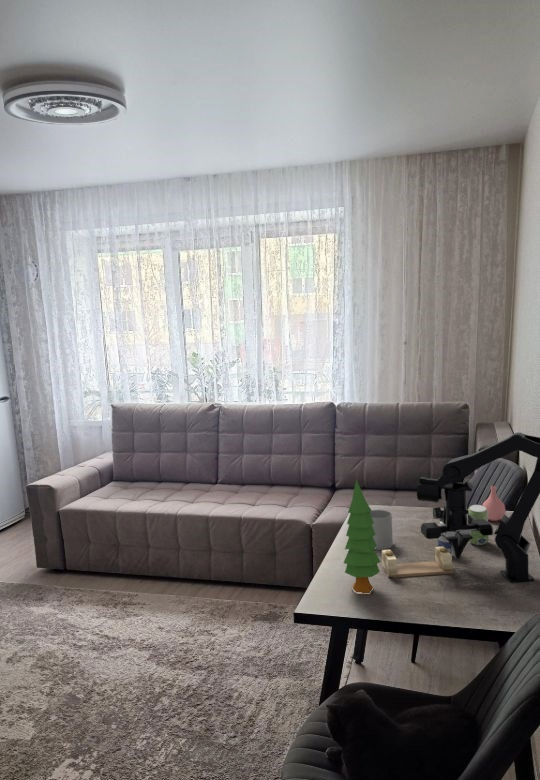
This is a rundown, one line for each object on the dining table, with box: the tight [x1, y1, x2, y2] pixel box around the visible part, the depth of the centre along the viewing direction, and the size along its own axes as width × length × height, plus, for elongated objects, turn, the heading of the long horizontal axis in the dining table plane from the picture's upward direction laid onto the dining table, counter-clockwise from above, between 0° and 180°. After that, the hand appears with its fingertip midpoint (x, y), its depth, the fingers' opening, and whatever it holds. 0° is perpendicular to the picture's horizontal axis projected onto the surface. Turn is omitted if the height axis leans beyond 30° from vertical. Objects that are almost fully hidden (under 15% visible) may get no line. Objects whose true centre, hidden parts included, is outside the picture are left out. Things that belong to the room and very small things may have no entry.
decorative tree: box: [343, 479, 382, 593], centre depth 148 cm, size 10×9×30 cm
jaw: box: [434, 546, 453, 570], centre depth 159 cm, size 7×2×5 cm, turn 3°
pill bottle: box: [437, 521, 456, 557], centre depth 170 cm, size 5×5×10 cm
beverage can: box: [467, 504, 489, 546], centre depth 176 cm, size 6×7×12 cm
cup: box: [369, 509, 394, 550], centre depth 180 cm, size 8×8×10 cm
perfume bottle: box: [482, 485, 507, 522], centre depth 197 cm, size 8×8×12 cm
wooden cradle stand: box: [381, 549, 454, 578], centre depth 159 cm, size 7×18×6 cm, turn 93°
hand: (457, 558), depth 160 cm, fingers closed
